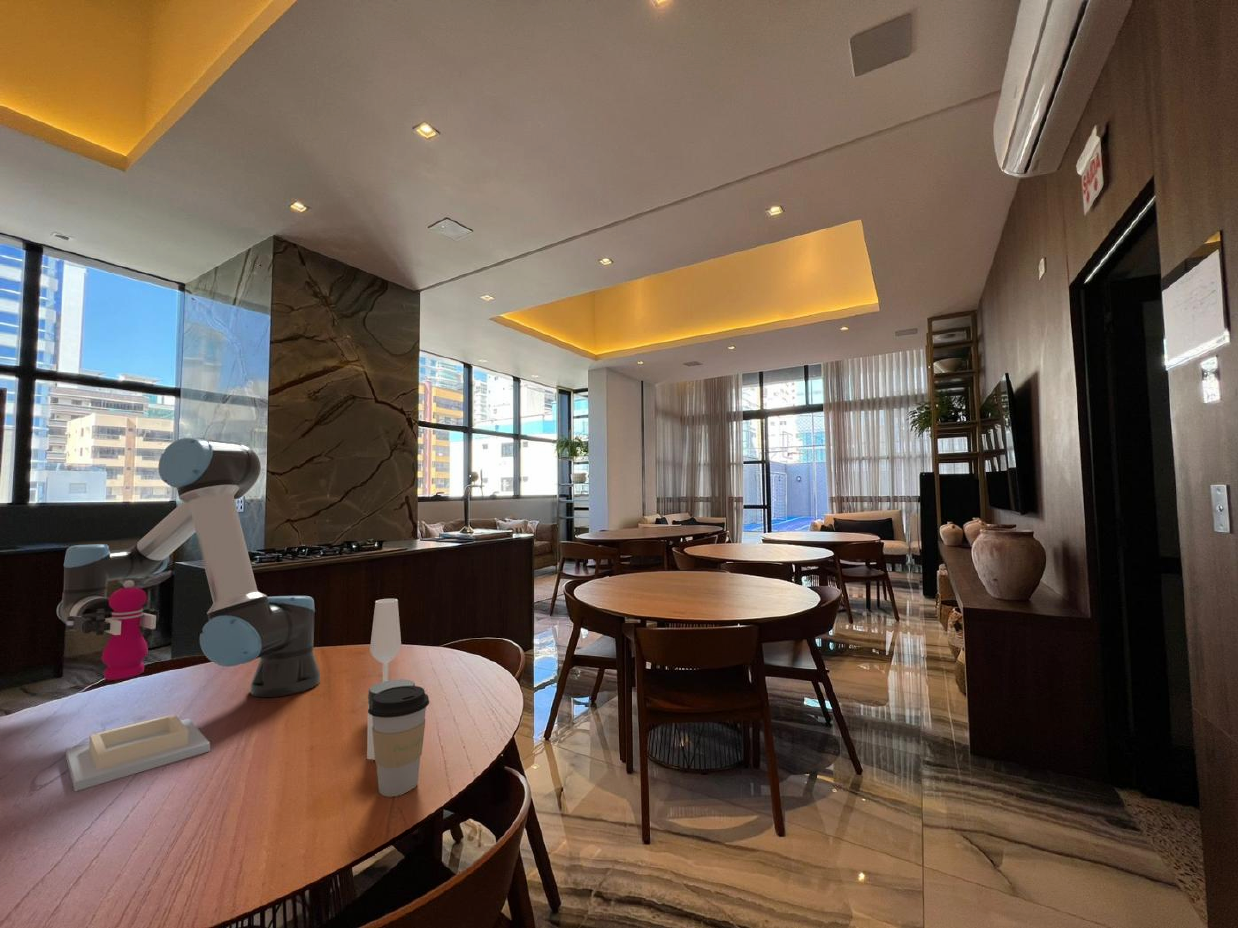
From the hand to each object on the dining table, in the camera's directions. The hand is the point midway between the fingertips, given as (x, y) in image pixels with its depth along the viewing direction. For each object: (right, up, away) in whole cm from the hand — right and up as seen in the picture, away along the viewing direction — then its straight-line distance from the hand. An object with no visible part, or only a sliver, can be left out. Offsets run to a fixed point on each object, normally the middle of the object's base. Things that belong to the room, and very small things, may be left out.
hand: (136, 625), depth 111 cm
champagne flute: (+47, -22, +11) cm, 53 cm away
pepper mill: (-4, -11, +2) cm, 12 cm away
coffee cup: (+65, -20, -24) cm, 72 cm away
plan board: (+11, -21, -11) cm, 26 cm away
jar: (+58, -21, -11) cm, 63 cm away
